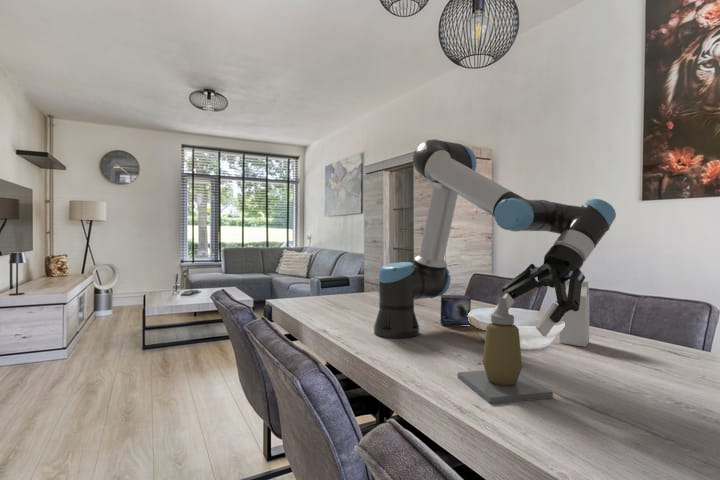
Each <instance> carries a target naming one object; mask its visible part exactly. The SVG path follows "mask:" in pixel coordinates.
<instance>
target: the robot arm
mask: <svg viewBox="0 0 720 480" xmlns="http://www.w3.org/2000/svg"><path fill="white" fill-rule="evenodd" d="M412 163H413V166H414V169H415V171H416V172H417V173H418V174H420V175H421V176H422V177H424V179H427V180H428V182H429V183H430V184H431V186H432V190H431V195H430V200H429V205H428V211H427V215H426V220H425V224H424V225H425V226H424V230H423V234H422V239H421V245H420V250H419V254H418V255H416V256H415V257H414V259H413V262H410V261H409V262H408V261H401V262H391V263H387V264H384V265H382V266H381V268H380V269H379V274H378V275H379V277H378V285H379V289H378V292H379V294H378V296H379V300H378V303H379V307H378V311H377V312H378V313H377V315H376V319H375V322H374V325H373V330H374V331H373V333H374V334H375V335H376V334H377V335H376V336H379V335H380V336H379V337H382V336H384V337H383V338H388V339H409V337H410V338H414V337H417V336H419V334H420V326H419V323H418V319H417V316H416V312H415V300H422V299H434V298H437V297H441V295H445V293H446V292H447V291H448V290H449V288H450V285H451V280H452V279H451V275H450V271H449V269H448V268H447V266H448V263H447V262H446V261H445V255H446V251H447V247H448V240H449V237H450V232H451V228H452V223H453V218H454V213H455V209H456V205H457V200H458V197H459V196H460V197H462V198H463V199H464V200H467V201H468V202H470V203H471V204H473V205H474V206H476V207H478V208H479V209H481V210H482V211H484V212H486V213H487V214H488V215H490V216H492V217H493V218H494V220H495V221H496V222H495V223H496V224H497V225H498V226H499V228H501V229H503V230H506V231H511V232H531V231H532V232H549V233H553V234H559V236H558V237H557V239H556V240H555V241H554V242H553V245H552V246H551V247H550V248H549V250H547V252H546V253H545V254H544V257H543V264H542V265H540V266H539V267H538V266H535V264H534V263H531V264H529V265H528V266H527V267H526V268H525V270H523V271H522V272H520V273H519V274H517V276H515V277H514V278H512V279H511V280H510V281H508V282H506V284H504V285H502V287H501V288H500V291H501V293H503V295H502V297H501V298H505V299H506V303H507V308H508V311H510V309H511V307H512V306H513V305H514V303H515V302H516V301H515V300H514V299H516V298H518V297H520V296H522V295H524V294H526V293H528V292H530V291H532V290H533V289H534V290H535V289H536V288H539V289H540V288H542V287H545V288H546V287H549V288H553V289H554V290H555V296H556V297H555V298H556V300H555V302H556V303H554V302H552V304H551V305H550V307H549V308H548V309H547V311H546V312H545V314H543V316H542V317H541V319H540V320H539V322H538V323H537V324H536V326H535V329H536V330H537V331H538V332H539V333H540V334H541V336H542V337H544V338H546V337H547V336H548V334H549V333H550V331H552V329H553V327H554V326H555V325H556V324H557V323H559V321H560V320H561V318H562V317H563V315H564V314H565V313H566V312H568V311H569V310H573V311H578V310H579V306H580V296H581V286H582V283H583V281H585V278H586V276H585V274H584V273H583V272H582V271H581V268H582V267H583V265H584V263H585V262H586V261H587V259H588V258H589V257H590V256H591V254H592V252H593V251H594V250H595V248H596V246H597V245H598V244H599V242H600V241H601V240H602V238H603V237H604V235H606V233H607V232H608V231H609V230H610V228H611V226H612V224H613V223H614V221H615V220H616V216H617V212H616V209H615V208H614V207H613V206H612V204H610V203H609V202H607V201H606V200H603V199H600V198H592V199H588V200H586V201H585V202H584V203H583V204H582V205H581V206H579V205H569V204H565V203H560V202H555V201H549V200H546V199H526V198H525V197H523V196H520V194H517V193H515V192H514V191H512V190H510V189H508V188H506V187H504V186H503V185H501V184H499V183H497V182H496V181H494V180H492V179H490V178H488V177H486V176H485V175H483V174H481V173H480V172H477V171H476V170H477V158H476V155H475V153H474V152H473V150H472V149H471V148H470V147H469V146H466V145H463V144H461V143H458V142H457V143H456V142H450V141H445V140H439V139H436V138H434V139H427V140H425V141H422V142H421V143H420V144H419V145H418V146H417V147H416V148H415V150H414V151H413V155H412ZM458 195H459V196H458ZM536 278H537V279H536ZM567 280H569V281H570V282H569V289H568V297H567V294H566V286H565V282H566V281H567ZM498 303H499V301H498V302H497V304H496V306H495V308H493V310H492V311H491V312H490V315H491V314H494V313H496V312H497V308H498ZM413 336H414V337H413Z"/></svg>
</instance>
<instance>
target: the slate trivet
mask: <svg viewBox="0 0 720 480" xmlns="http://www.w3.org/2000/svg"><path fill="white" fill-rule="evenodd" d="M457 378H458V379H459V380H460V381H461V382H462V383H464V385H466V386H467V387H469V389H471V390H472V391H474V392H475V394H477V395H478V396H480V397H481V398H482V399H483V400H484V401H486V402H487V403H488V404H500V403H509V402H510V403H511V402H512V403H513V402H520V401H521V402H523V401H531V400H542V399H543V400H544V399H553V398H554V391H552V390H551V389H549V388H547V387H545V386H544V385H542V384H540V383H538V382H537V381H535V380H533V379H531V378H529V377H528V376H526V375H524V373H521V372H520V375H519V377H518V380H517V382H516V384H514V385H499V384H495V383H492V382H490V381H489V380H488V378H487V374H486V371H485V369H484V370H474V371H473V370H471V371H470V370H469V371H459V372H457Z"/></svg>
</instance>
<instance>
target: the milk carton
mask: <svg viewBox="0 0 720 480" xmlns="http://www.w3.org/2000/svg"><path fill="white" fill-rule="evenodd" d="M569 282H570V279H569V280H567V281H566V282H565V286H566V294H567V297H568V289H569ZM561 321H564V322H565V327H564V328H563V330H562V331H561V332H560V333H559V332H558V336H559V337H558V342H559V344H564V345H565V344H566V345H569V346H570V345H571V346H577V347H584V348H585V347H586V348H587V345H588V344H589V343H590V287H589V281H585V280H584V281H583V283H582V286H581V296H580V306H579V310H578V311H573V310H569V311H568V312H566V313H565V314H564V315H563V318H561V320H560V321H559V322H561ZM559 322H558V323H559Z"/></svg>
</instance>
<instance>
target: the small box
mask: <svg viewBox="0 0 720 480" xmlns="http://www.w3.org/2000/svg"><path fill="white" fill-rule="evenodd" d="M471 300H472V299H471V297H470V295H462V294H461V295H460V294H443V295H441V296H440V321H441V322H440V321H439V322H440V325H441V324H443V325H442V326H447V325H470V326H471V322H470V323H469V321H468V317H467V315H468V313H469V312H470V311H471V308H472V307H471V305H472V304H471V303H472V301H471ZM471 312H472V311H471Z"/></svg>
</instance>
